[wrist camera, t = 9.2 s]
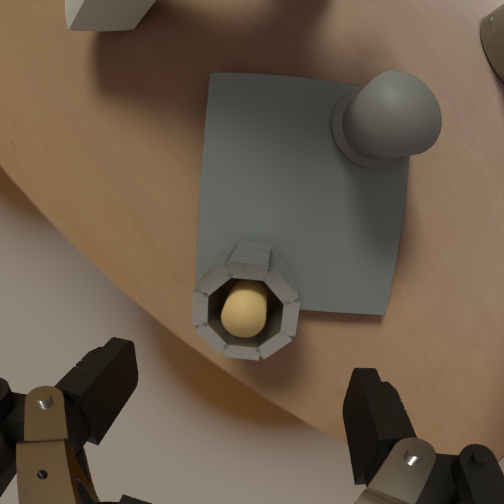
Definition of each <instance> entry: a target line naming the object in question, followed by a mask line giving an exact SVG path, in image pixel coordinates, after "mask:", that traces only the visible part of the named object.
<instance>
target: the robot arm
mask: <svg viewBox="0 0 504 504" xmlns="http://www.w3.org/2000/svg"><path fill="white" fill-rule="evenodd" d="M480 35H481V40H482V44H483V47H484V50H485V52H486V55H487V57H488V59H489V61H490V63H491V65H492V67H493V68H494V70H495V71H496V73H497V74H498V76H499V77H500V78H501V80H502V81H503V82H504V4H503V5H502V6H500V7H499V8H497V9H496V10H494V11H493V12H491V13H490V14H489V15H487V16H486V17H485V18H483V20H482V22H481V26H480ZM137 383H138V369H137V362H136V354H135V347H134V343H133V342H132V341H129V340H125V339H120V338H116V337H113V338H111V339H110V340H109V341H108V342H107V343H106V344H105V345H104V346H103V347H98V348H96V349H94V350H92V351H90V352H88V353H87V354H86V355H85V356H84V357H83V358H82V360H81V361H79V362H78V363H77V364H76V366H75V367H73V368H72V369H71V370H70V372H68V373H67V374H66V375H65V376H64V377H63V378H62V379H61V380H60V381H59V382H58V383H57V384H56V385H55V386H54V387H51V386H41V387H37V388H35V389H33V390H31V391H30V392H29V393H28V395H26V394H20V393H15V392H11V389H10V387H9V385H8V382H7V381H6V380H4V379H2V378H0V497H1V495H2V494H3V492H4V491H5V489H6V488H7V486H8V485H9V483H10V482H11V480H12V479H13V477H14V476H15V475H16V473H17V485H18V497H19V504H152V503H148V502H145V501H142V500H138V499H136V498H132V497H129V496H127V495H122V497H121V500H120V502H100V501H99V498H98V496H97V494H96V491H95V489H94V486H93V482H92V478H91V474H90V470H89V467H88V462H87V458H86V454H85V449H84V447H83V446H84V444H85V443H86V442H87V441H88V442H91V443H93V444H96V445H99V443H100V442H101V440H102V439H103V437H104V436H105V434H106V433H107V431H108V430H109V428H110V426H111V425H112V423H113V422H114V420H115V419H116V417H117V416H118V414H119V413H120V411H121V410H122V408H123V407H124V405H125V404H126V402H127V401H128V399H129V398H130V396H131V395H132V393H133V391H134V390H135V388H136V386H137ZM343 419H344V425H345V430H346V435H347V441H348V446H349V452H350V458H351V464H352V470H353V475H354V482H355V485H360V484H366V487H367V488H366V489H365V490H364V491H363V492H362V494H361V495H360V496H359V498H358V499H357V500H356V502H355V503H354V504H504V475H503V472H502V470H501V468H500V466H499V464H498V462H497V460H496V458H495V455H494V454H493V452H492V451H491V450H490V449H489V448H487V447H485V446H483V445H479V444H471V445H468V446H466V447H465V448H463V450H462V451H461V452H460V454H459V455H447V454H438V453H435V450H434V448H433V447H432V446H431V445H430V444H429V443H428V442H426V441H424V440H422V439H419V438H417V436H416V434H415V432H414V429H413V427H412V424H411V422H410V420H409V417H408V415H407V413H406V410H404V406H403V403H402V402H401V399H400V396H399V394H398V392H397V390H396V389H395V388H394V387H393V386H392V385H391V384H390V383H389V382H381V380H380V377H379V375H378V372H377V370H376V369H375V368H355V369H354V370H353V372H352V376H351V379H350V382H349V386H348V389H347V392H346V396H345V399H344V403H343Z"/></svg>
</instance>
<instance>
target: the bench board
mask: <svg viewBox="0 0 504 504" xmlns="http://www.w3.org/2000/svg"><path fill="white" fill-rule="evenodd" d="M441 124H442V118H441V111H440V107H439V104H438V102H437V100H436V98H435V96H434V94H433V93H432V91H431V90H430V89H429V88H428V86H427V85H426V84H425V83H424V82H422V81H421V80H420V79H418V78H417V77H415V76H413V75H411V74H409V73H406V72H402V71H387V72H384V73H381V74H379V75H377V76H376V77H375V78H374V79H372V80H371V81H370V82H369V83H368V84H367V85H366V86H359V85H354V84H348V83H342V82H336V81H329V80H322V79H314V78H306V77H296V76H286V75H273V74H256V73H210V81H209V90H208V99H207V109H206V120H205V131H204V142H203V154H202V168H201V182H200V198H199V217H198V238H197V266H196V285H197V283H198V282H199V281H200V279H201V278H202V277H203V275H204V274H205V273H206V271H207V270H208V269H209V267H210V266H211V265H212V263H213V262H214V261H215V260H216V259H217V258H218V257H220V256H221V255H222V254H223V253H224V252H225V251H227V250H228V249H229V248H230V247H231V246H233V245H234V244H235V243H237V244H238V245H239V243H240V241H245V242H256V243H267V244H271V248H270V250H271V249H272V248H273V247H274V246H275V247H276V248H277V249H278V250H279V251H280V253H281V254H282V255H283V256H284V257H285V259H286V260H287V261H288V262H289V263H290V265H291V266H292V267H293V268H294V272H295V275H296V280H297V286H298V292H299V297H300V308H299V309H300V310H312V311H325V312H340V313H356V314H374V315H385V312H386V308H387V304H388V299H389V295H390V290H391V285H392V280H393V275H394V270H395V265H396V260H397V254H398V248H399V242H400V236H401V229H402V222H403V215H404V207H405V198H406V189H407V178H408V166H409V155H415V154H420V153H423V152H425V151H427V150H428V149H429V148H431V147H432V146H433V145H434V143H435V142H436V141H437V139H438V137H439V134H440V131H441ZM223 291H224V292H225V294H226V295H227V296H228V298H227V301H226V303H225V305H224V308H223V310H222V314H221V319H222V323H223V325H224V327H225V329H226V330H227V331H228V332H229V333H231V334H233V335H235V336H237V337H242V338H247V337H252V336H254V335H256V334H258V333H259V332H260V331H261V330H262V329H263V327H264V325H265V321H266V310H267V306H268V305H270V304H271V303H272V302H274V301H275V300H276V299H278V297H277V296H276V295H275V293H274V292H273V291H272V290H271V289H270V288H269V287H268V285H267V284H266V283H265V282H264V281H260V280H249V279H240V278H230V279H229V280H228V281H227V282H225V283H224V284H223Z"/></svg>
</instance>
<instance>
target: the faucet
mask: <svg viewBox="0 0 504 504" xmlns="http://www.w3.org/2000/svg"><path fill="white" fill-rule="evenodd" d="M155 1H156V0H65V14H66V21H67V26H68V30H73V31H121V30H132V29H134V28H135V27H136V26H137V24H138V23H139V22H140V20H141V19H142V18H143V16H144V15H145V14H146V13H147V11H148V10H149V9H150V7H151V6H152V5H153V4H154V2H155Z"/></svg>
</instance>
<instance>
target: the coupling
mask: <svg viewBox="0 0 504 504" xmlns="http://www.w3.org/2000/svg"><path fill="white" fill-rule="evenodd" d="M270 248H271V244H267V243H256V242H245V241H240V243H239V245H238V244H237V243H235V244H234V245H233V246H231V247H230V248H229V249H228V250H227V251H225V252H224V253H223V254H222V255H221V256H220V257H218V258H217V259H216V260H215V261H214V262H213V263H212V265H211V266H210V267H209V269H208V270H207V271H206V273H205V274H204V275H203V277H202V278H201V279H200V281H199V282H198V283H197V285H196V286H195V287H196V288H195V289H194V290H193V325H197V326H196V328H195V330H196V332H197V333H198V334H199V335H200V336H201V337H202V338H203V339H204V340H205V341H206V342H207V343H208V344H209V345H210V346H211V347H212V348H213V349H214V350H215V351H216V352H217V353H218V354H220V353H221V352H223V351H224V357H231V358H239V359H248V360H257V361H259V355H260V356H261V357H262V358H263V359H266V358H267V357H269V356H270V355H272V354H273V353H275V352H276V351H278V350H279V349H281V348H282V347H284V346H285V345H286V344H288V343H289V342H291V341H292V336H295V335H296V328H297V322H298V315H299V308H300V297H299V292H298V286H297V280H296V275H295V272H294V268H293V267H292V266H291V265H290V263H289V262H288V261H287V260H286V259H285V257H284V256H283V255H282V254H281V253H280V251H279V250H278V249H277V248H276V247H275V246H274V247H273V248H272V249H271V250H270ZM230 278H240V279H249V280H260V281H264V282H265V283H266V284H267V285H268V287H269V288H270V289H271V290H272V291H273V292H274V293H275V295H276V296H277V297H278V299H276V300H275V301H274V302H272V303H271V304H270V305H268V306H267V310H266V321H265V325H264V327H263V329H262V330H261V331H260V332H259V333H258V334H256V335H254V336H252V337H247V338H242V337H237V336H235V335H233V334H231V333H229V332H228V331H227V330H226V329H225V327H224V325H223V323H222V319H221V314H222V310H223V308H224V305H225V303H226V301H227V298H228V296H227V295H226V294H225V292H224V291H223V284H224V283H225V282H227V281H228V280H229V279H230Z"/></svg>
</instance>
